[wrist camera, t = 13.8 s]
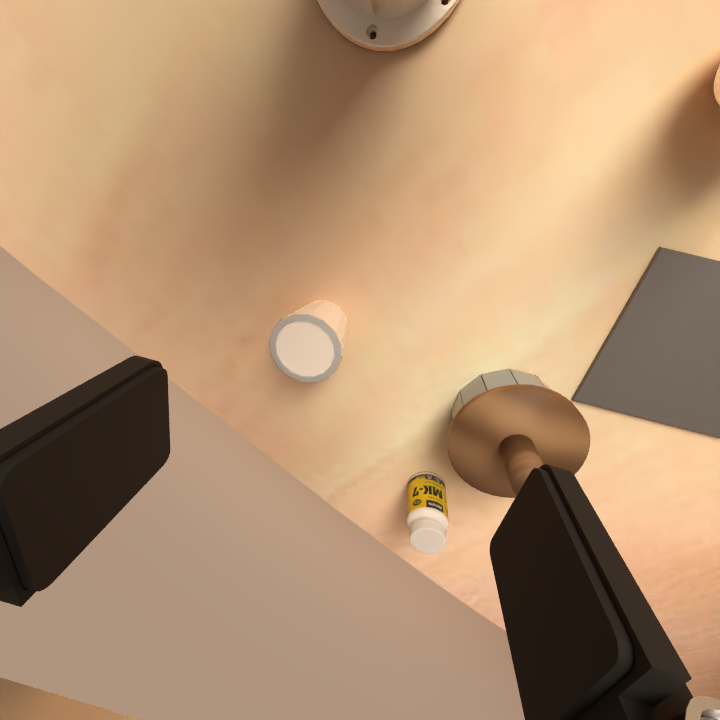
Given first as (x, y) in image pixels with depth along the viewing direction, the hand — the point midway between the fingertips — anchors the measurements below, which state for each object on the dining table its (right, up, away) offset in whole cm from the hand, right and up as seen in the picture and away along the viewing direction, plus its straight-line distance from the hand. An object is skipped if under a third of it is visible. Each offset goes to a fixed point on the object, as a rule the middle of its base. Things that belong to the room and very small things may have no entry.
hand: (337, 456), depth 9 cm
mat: (+33, +3, +25) cm, 41 cm away
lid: (+16, -6, +26) cm, 31 cm away
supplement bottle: (+9, -14, +37) cm, 40 cm away
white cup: (-3, +6, +29) cm, 30 cm away
